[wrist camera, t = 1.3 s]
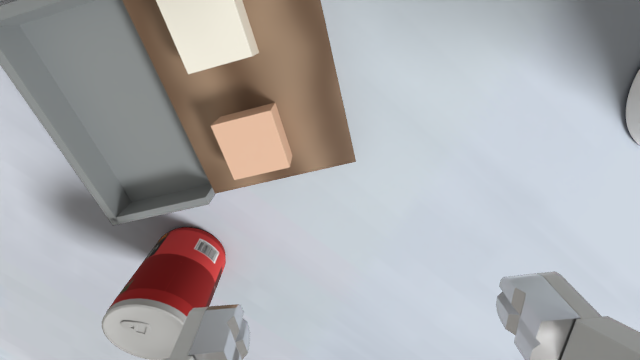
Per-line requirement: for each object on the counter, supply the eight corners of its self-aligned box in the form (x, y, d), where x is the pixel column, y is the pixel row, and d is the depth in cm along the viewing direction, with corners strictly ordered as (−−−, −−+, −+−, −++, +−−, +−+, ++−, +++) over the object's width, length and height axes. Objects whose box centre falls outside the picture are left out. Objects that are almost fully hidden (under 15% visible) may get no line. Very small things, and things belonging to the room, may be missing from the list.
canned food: (156, 220, 35) (92, 300, 25) (228, 229, 35) (192, 310, 25) (163, 270, 38) (108, 357, 28) (227, 278, 39) (195, 365, 29)
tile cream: (235, -21, 22) (225, -26, 19) (259, 52, 24) (252, 56, 22) (171, -1, 22) (154, -3, 20) (200, 69, 25) (188, 74, 22)
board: (304, -72, 22) (302, -82, 20) (353, 151, 30) (355, 161, 28) (132, -15, 24) (113, -19, 22) (222, 181, 32) (215, 193, 30)
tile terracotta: (275, 102, 26) (270, 110, 24) (292, 155, 28) (289, 167, 26) (220, 116, 26) (210, 125, 24) (241, 167, 29) (234, 180, 26)
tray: (123, -21, 24) (93, -26, 21) (219, 186, 32) (209, 204, 29) (10, 17, 25) (-34, 16, 22) (132, 206, 34) (112, 225, 31)
